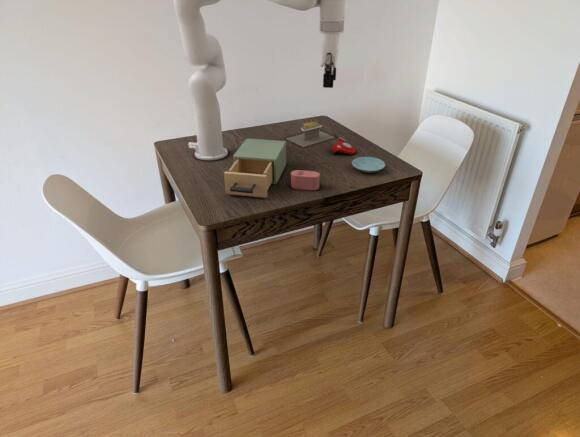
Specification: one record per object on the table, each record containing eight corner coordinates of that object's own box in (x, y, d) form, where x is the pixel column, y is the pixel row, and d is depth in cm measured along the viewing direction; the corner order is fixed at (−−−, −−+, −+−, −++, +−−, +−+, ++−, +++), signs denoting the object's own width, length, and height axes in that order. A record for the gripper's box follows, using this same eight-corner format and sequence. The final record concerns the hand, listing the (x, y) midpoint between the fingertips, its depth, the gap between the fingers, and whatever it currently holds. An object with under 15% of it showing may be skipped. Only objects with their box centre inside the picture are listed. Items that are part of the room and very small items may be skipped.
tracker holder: (361, 150, 165) (342, 149, 160) (357, 159, 168) (338, 159, 162) (343, 134, 173) (325, 133, 167) (339, 143, 175) (321, 143, 169)
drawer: (262, 205, 129) (262, 183, 125) (220, 200, 131) (218, 179, 128) (277, 176, 146) (276, 156, 142) (239, 173, 148) (238, 153, 145)
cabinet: (276, 184, 143) (275, 159, 138) (234, 180, 145) (232, 156, 141) (286, 164, 157) (286, 141, 152) (247, 161, 159) (246, 138, 154)
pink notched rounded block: (289, 188, 140) (289, 175, 138) (292, 182, 144) (292, 169, 142) (318, 190, 139) (318, 177, 136) (320, 184, 143) (320, 171, 140)
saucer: (384, 177, 148) (385, 171, 146) (350, 174, 149) (351, 168, 148) (384, 163, 158) (384, 157, 156) (351, 161, 159) (352, 155, 158)
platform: (285, 138, 179) (284, 123, 176) (317, 129, 189) (317, 115, 185) (302, 147, 171) (303, 131, 168) (335, 137, 181) (336, 122, 177)
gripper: (322, 23, 139) (321, 77, 148) (316, 31, 125) (314, 90, 134) (345, 23, 138) (342, 77, 147) (341, 31, 124) (338, 90, 133)
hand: (329, 83), depth 140 cm, fingers open, 9 cm apart
